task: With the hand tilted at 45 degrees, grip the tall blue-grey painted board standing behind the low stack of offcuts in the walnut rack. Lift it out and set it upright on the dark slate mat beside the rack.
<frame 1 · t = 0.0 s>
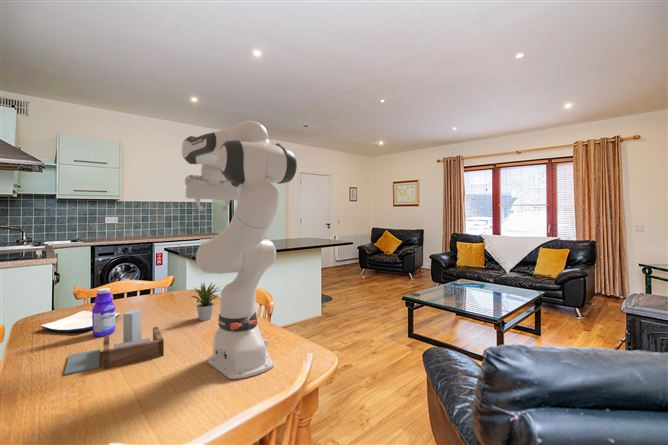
hand: (212, 210, 127), 48 cm above the table, tool pointing down, fingers open, 8 cm apart
rack: (133, 351, 105), on the table
bottle: (104, 334, 120), on the table
plate: (83, 325, 130), on the table
slate mat: (83, 362, 98), on the table
house plant: (205, 319, 138), on the table
tall board: (132, 349, 107), resting in rack
offcut stack: (133, 357, 102), resting in rack
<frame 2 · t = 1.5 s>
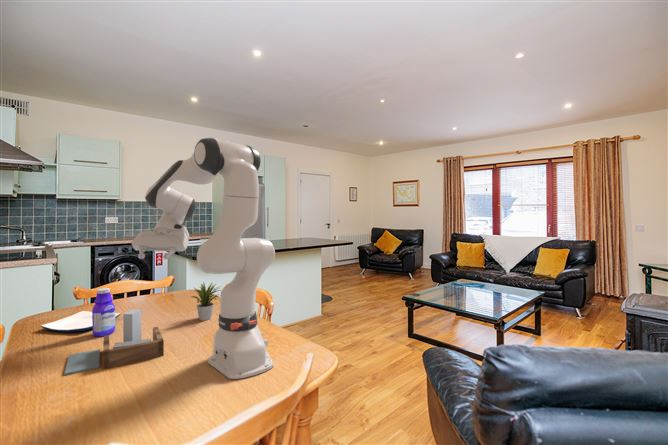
hand: (153, 258, 119), 30 cm above the table, tool tilted 45°, fingers open, 8 cm apart
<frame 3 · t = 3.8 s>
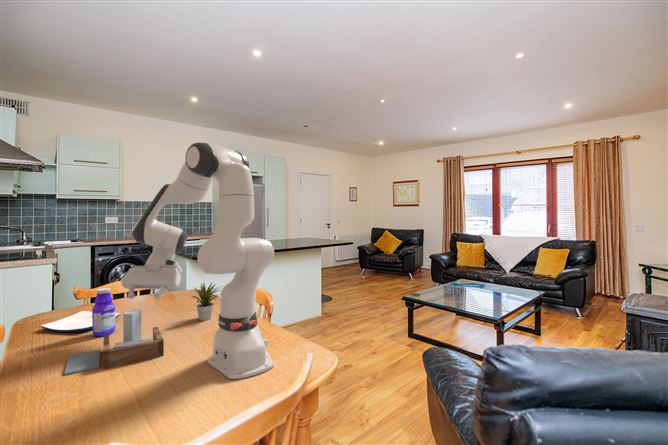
hand: (143, 298, 113), 16 cm above the table, tool tilted 45°, fingers open, 8 cm apart
nothing on the table moved.
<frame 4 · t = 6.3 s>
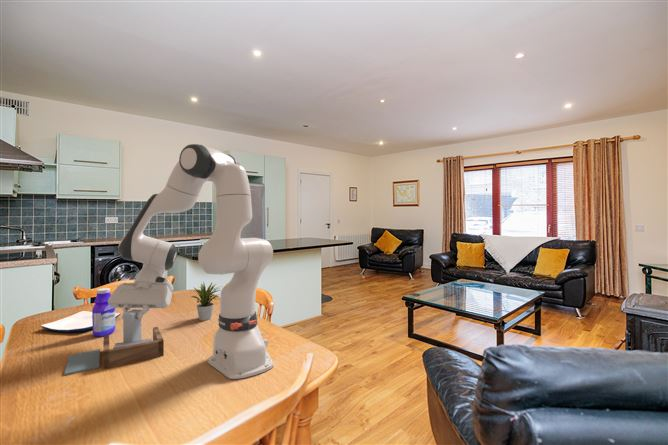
hand: (131, 318, 106), 11 cm above the table, tool tilted 45°, fingers closed on tall board, 3 cm apart
tall board: (132, 349, 107), resting in rack, touching gripper
everything else where it was.
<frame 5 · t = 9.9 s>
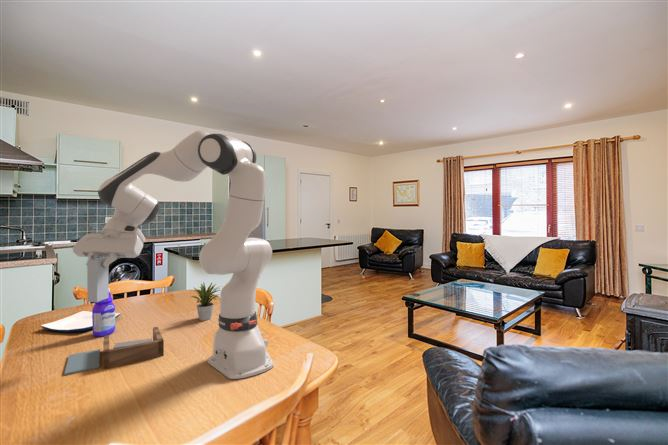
hand: (96, 266, 99), 30 cm above the table, tool tilted 45°, fingers closed on tall board, 3 cm apart
tall board: (98, 299, 100), point 19 cm above the table, touching gripper
everything else where it was.
when the fingers open (13 cm above the table, at t = 13.7 s): tall board drops 1 cm, resting on slate mat.
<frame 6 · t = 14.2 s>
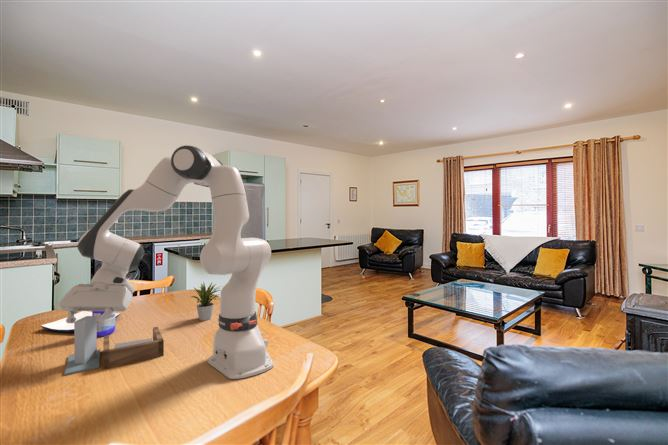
hand: (83, 322, 97), 13 cm above the table, tool tilted 45°, fingers open, 8 cm apart
tall board: (85, 359, 98), point 1 cm above the table, touching slate mat
everything else where it was.
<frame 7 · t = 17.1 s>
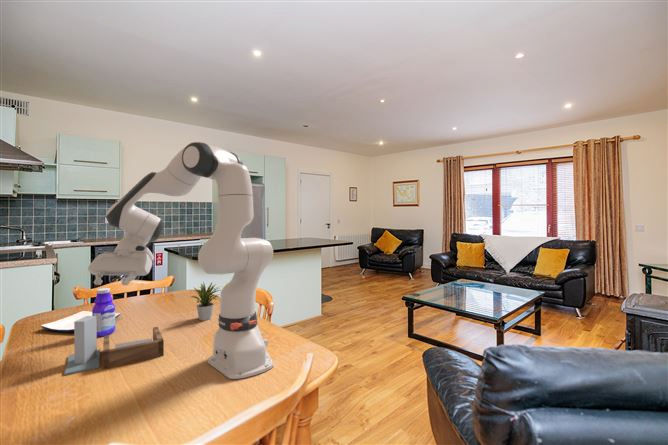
hand: (110, 284, 109), 22 cm above the table, tool tilted 45°, fingers open, 8 cm apart
nothing on the table moved.
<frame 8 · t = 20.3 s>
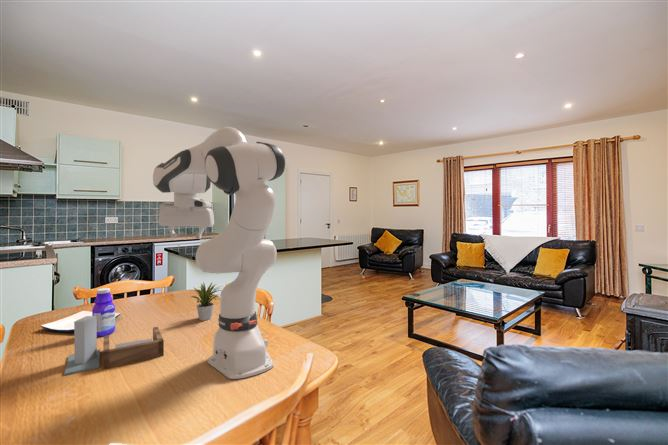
hand: (186, 238, 121), 37 cm above the table, tool pointing down, fingers open, 8 cm apart
nothing on the table moved.
at the end: tall board inside the target area on the slate mat (0.6 cm from its centre), point 0.6 cm above the slate mat's base; tall board tilted 0°; the gripper is holding nothing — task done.
